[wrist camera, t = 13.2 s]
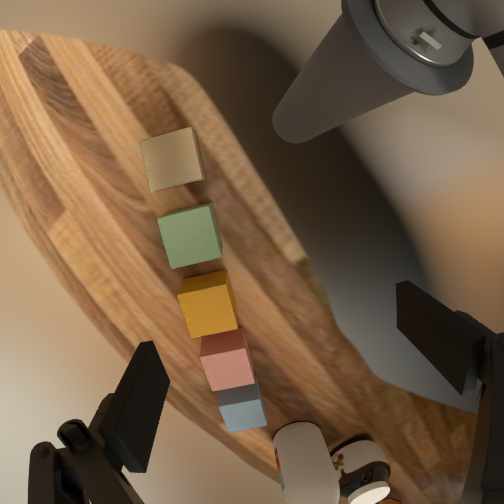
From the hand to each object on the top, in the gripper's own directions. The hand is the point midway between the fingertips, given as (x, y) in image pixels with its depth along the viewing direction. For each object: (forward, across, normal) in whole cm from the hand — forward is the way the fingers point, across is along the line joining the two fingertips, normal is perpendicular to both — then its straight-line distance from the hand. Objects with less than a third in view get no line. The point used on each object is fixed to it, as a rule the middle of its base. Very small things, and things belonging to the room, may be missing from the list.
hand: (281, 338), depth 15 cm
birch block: (+19, -6, +11) cm, 23 cm away
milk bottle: (+19, 0, -31) cm, 36 cm away
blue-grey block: (+19, -6, -19) cm, 27 cm away
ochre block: (+19, -6, -4) cm, 20 cm away
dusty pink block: (+19, -6, -11) cm, 23 cm away
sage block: (+19, -6, +4) cm, 20 cm away
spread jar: (+19, +9, -42) cm, 47 cm away
